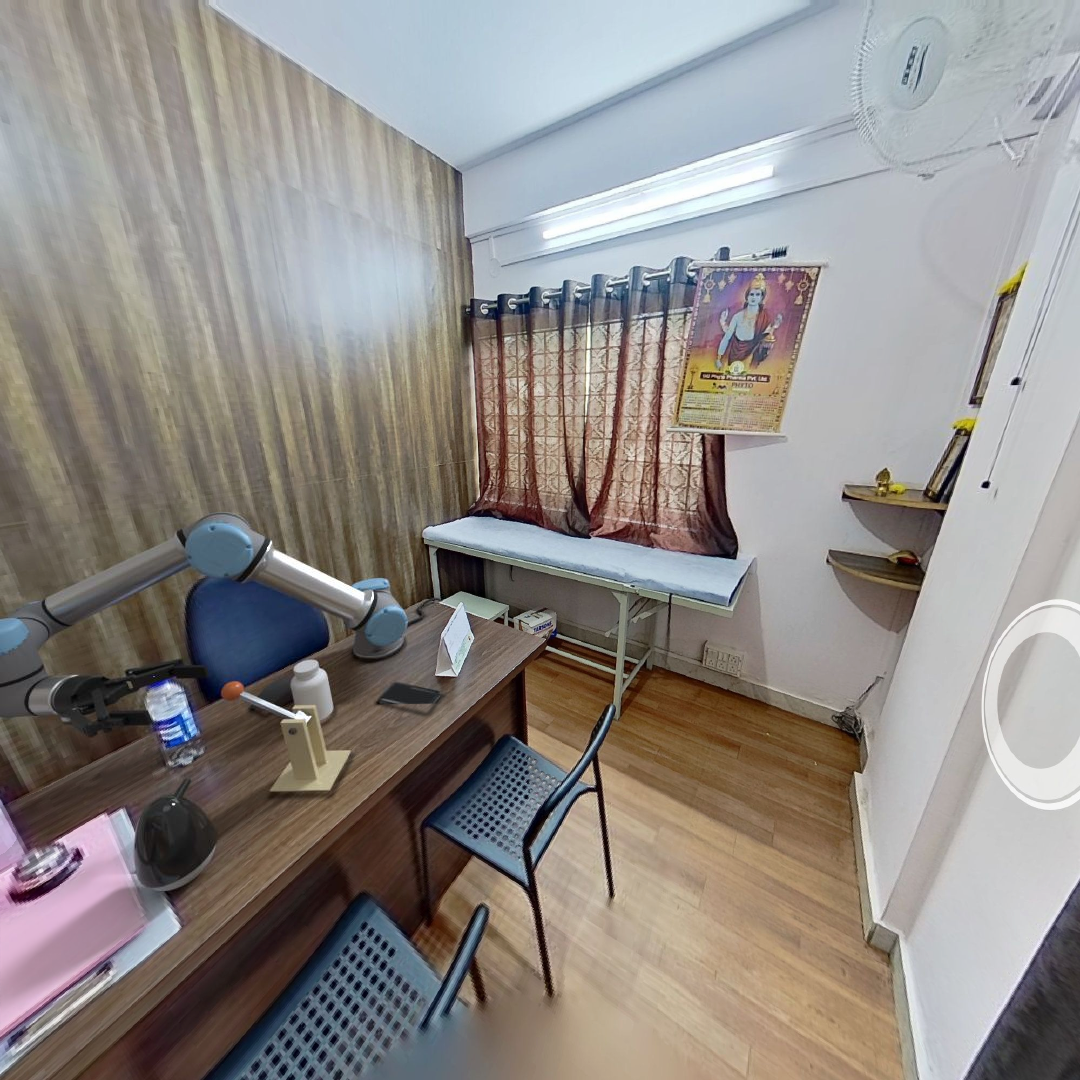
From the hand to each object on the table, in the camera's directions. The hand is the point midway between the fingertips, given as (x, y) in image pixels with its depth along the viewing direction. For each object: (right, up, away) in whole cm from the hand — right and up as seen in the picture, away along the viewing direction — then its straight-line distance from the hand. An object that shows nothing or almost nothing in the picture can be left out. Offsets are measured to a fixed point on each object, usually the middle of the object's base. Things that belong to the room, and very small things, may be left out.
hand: (180, 692), depth 81 cm
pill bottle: (+15, -15, +23) cm, 31 cm away
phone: (+37, -12, +28) cm, 48 cm away
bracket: (+23, -20, +6) cm, 31 cm away
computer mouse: (+2, -13, +30) cm, 33 cm away
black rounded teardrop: (+11, -26, -11) cm, 30 cm away
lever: (+15, -4, +1) cm, 16 cm away
